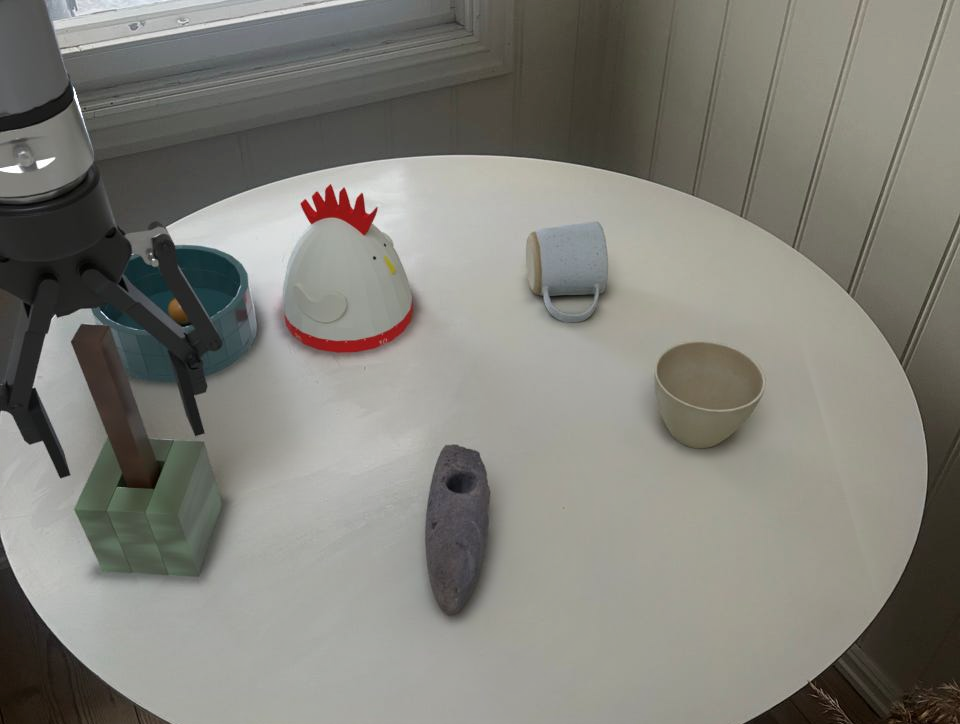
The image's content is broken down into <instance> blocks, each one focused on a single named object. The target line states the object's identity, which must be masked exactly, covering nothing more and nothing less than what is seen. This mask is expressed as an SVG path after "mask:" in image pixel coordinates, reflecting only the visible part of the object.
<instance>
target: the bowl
mask: <svg viewBox="0 0 960 724" xmlns="http://www.w3.org/2000/svg"><path fill="white" fill-rule="evenodd" d="M174 245H175V249H176V256H177V263H178V266H179V267H180V269H181V271H182V272H183V274H184V276H185V277H186V279H187V281H188V282H189V284H190V285H191V287H192V289H193V290H194V292H195V294H196V295H197V297H198V299H199V300H200V302H201V304H202V305H203V307H204V309H205V310H206V312H207V314H208V315H209V317H210V319H211V320H212V322H213V324H214V326H215V328H216V330H217V332H218V334H219V336H220V338H221V340H222V342H223V345H222V347H221V348H220V349H219V350H217V351H210V350H209V351H208V352H206V353H205V354H204V355H203V356H202V358H201V359H202V361H203V366H202V368H203V372H204V376H205V377H207V376H210V375H213V374H216V373H217V372H220V371H222V370H224V369H226V368H227V367H229V366H231V365H232V364H234V363H235V362H237V361H238V360H240V359H241V358H242V357H243V356H244V355H245V354H246V353H247V352H248V351H249V349H250V348H251V347H252V345H253V343H254V342H255V339H256V336H257V332H258V322H257V317H256V310H255V305H254V299H253V294H252V290H251V289H252V288H251V285H250V280H249V274H248V272H247V271H246V269H245V266H244V265H243V263H242V262H240V261H239V259H236V258H235V257H234V256H233V255H231V254H230V253H227V252H225V251H223V250H220V249H217V248H215V247H210V246H205V245H199V244H174ZM123 274H124V275H125V276H126V277H127V279H128V280H129V281H130V283H131V284H132V285H133V286H135V287H136V288H137V289H138V290H139V291H140V292H141V293H143V294H144V295H145V296H146V297H147V298H148V299H149V300H151V301H152V302H153V303H154V304H155V305H156V306H157V307H159V308H160V309H161V310H162V311H163V312H164V313H165V314H167V315H168V316H169V313H168V306H169V304H170V302H171V301H172V299H174V298H175V297H174V295H173V294H172V292H171V290H170V289H169V287H168V286H167V284H166V283H165V281H164V279H163V277H162V275H161V273H160V271H159V269H158V266H157V267H153V266H152V265H148V264H146V263H145V262H144V260H143V258H142V257H141V256H140V255H138V254H132V256H131V258H130V260H129V262H128V265H127V267H126V269H125V271H124V273H123ZM90 310H91V313H92V317H93V319H94V321H95V325H109V326H110V329H111V331H112V334H113V337H114V340H115V343H116V346H117V349H118V352H119V354H120V357H121V360H122V363H123V366H124V369H125V372H126V375H127V376H131V377H132V378H136V379H139V380H143V381H148V382H154V383H155V382H157V383H177V382H176V379H175V375H174V372H173V368H172V365H171V362H170V358H169V355H168V350H169V349H167V348H166V347H165V346H164V345H163V344H161V343H160V342H159V341H158V340H157V339H155V338H154V337H153V336H152V335H151V334H149V333H148V332H147V331H146V330H145V329H144V328H142V327H141V326H140V325H139V324H138V323H136V322H135V321H134V320H133V319H132V318H130V317H129V316H128V315H127V314H125V313H124V314H123V313H121V312H120V311H119V310H117V309H116V308H115V307H114V306H113V305H111V304H110V303H109V302H108V301H106V302H105V306H101V307H97V308H91V309H90ZM169 317H170V316H169ZM170 318H171V317H170ZM177 324H178V323H177ZM179 325H180V326H182V327H183V329H184V330H185V331H186V332H187V333H190V332H191V331H193V330H195V328H194V327H193V325H192V324H191V323H190V324H187V325H181V324H179Z"/></svg>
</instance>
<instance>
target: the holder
mask: <svg viewBox="0 0 960 724" xmlns="http://www.w3.org/2000/svg"><path fill="white" fill-rule="evenodd" d="M149 441H150V444H151V447H152V449H153V452H154V455H155V458H156V461H157V464H158V467H159V470H160V472H161V474H160V477H159V479H158V482H157V484H156V487H155V489H145V488H128V487H127V484H126V482H125V479H124V476H123V474H122V471H121V469H120V466H119V464H118V461H117V459H116V456H115V454H114V451H113V448H112V446H111V443H110V441H109V438H108V436H107V437H106V439H105V442H104V443H103V446H102V448H101V450H100V452H99V453H98V457H97V459H96V461H95V463H94V466H93V468H92V470H91V471H90V474H89V476H88V478H87V480H86V483H85V485H84V487H83V489H82V491H81V493H80V494H79V498H78V499H77V502H76V504H75V506H74V508H73V510H74V512H75V515H76V517H77V519H78V521H79V523H80V526H81V528H82V530H83V532H84V534H85V536H86V538H87V541H88V543H89V545H90V547H91V549H92V552H93V554H94V555H95V558H96V560H97V562H98V564H99V566H100V568H101V571H102V572H103V573H114V574H115V573H116V574H117V573H118V574H119V573H120V574H135V575H151V576H152V575H154V576H155V575H156V576H171V577H173V576H175V577H193V578H199V577H200V574H201V571H202V569H203V565H204V562H205V559H206V557H207V556H206V555H207V553H208V550H209V547H210V543H211V540H212V538H213V535H214V531H215V528H216V525H217V522H218V518H219V515H220V513H221V509H222V506H223V504H222V499H221V496H220V493H219V489H218V486H217V482H216V478H215V475H214V471H213V468H212V464H211V461H210V457H209V454H208V451H207V446H206V443H205V441H204V440H192V439H191V440H190V439H189V440H188V439H169V438H168V439H167V438H149Z"/></svg>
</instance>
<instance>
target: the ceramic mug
mask: <svg viewBox="0 0 960 724" xmlns="http://www.w3.org/2000/svg"><path fill="white" fill-rule="evenodd" d="M525 244H526V245H525V263H526V264H525V265H526V272H527V279H528V284H529V288H530V290H531V291H532V293H534V294H535V295H537V296H543V302H544V305H545V307H546V309H547V311H548V313H549V314H550V315H551V316H552V317H553V318H555V319H556V320H558V321H560V322H564V323H580V322H583V321H586V320H587V319H588V318H590V317H591V316H592V314H593V313H594V312H595V310H596V308H597V305H598V302H599V297H600V294H603V293H604V292H605V290H606V289H607V288H606V287H607V283H608V277H609V276H608V275H609V260H608V259H609V258H608V247H607V239H606V235H605V232H604V228H603V226H602V225H601V223H600V222H599V221H589V222H582V223H575V224H568V225H561V226H552V227H546V228H541V229H538V230H535V231H532V232H530V233H529V234H528V235H527V238H526V243H525ZM579 295H580V296H583V295H593V301H592V303H591V304H590V306H588V307H587V308H586V310H584V311H583V312H581V313H575V314H574V313H567V312H565V311H562V310H560V309H558V308H556V307H555V306H554V304H553V302H552V301H551V298H550V297H553V296H579Z"/></svg>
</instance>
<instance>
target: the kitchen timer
mask: <svg viewBox="0 0 960 724" xmlns="http://www.w3.org/2000/svg"><path fill="white" fill-rule="evenodd" d="M311 199H312V202H313V205H314V208H315V209H314V208H313V207H312V206H311V204H310V203H309V201H308V200H307V199H306V198H303V200H302V201H301V202H300V207H301V209H302V212H303V213H304V215H305V218H306V219H307V220H308V222H309V225H308V226H307V227H306V228H305V229H304V231H302V233H301V234H300V235H299V237H298V239H297V240H296V242H295V244H294V246H293V247H292V251H291V254H290V256H289V259H288V262H287V265H286V270H285V275H284V280H283V285H282V296H281V297H282V309H283V316H284V321H285V326H286V327H287V329H288V331H289V332H290V333H291V336H293V337H294V338H295V339H297V340H298V341H299V342H300V343H302V344H304V345H306V346H308V347H311V348H314V349H316V350H319V351H322V352H324V351H325V352H329V353H336V354H341V353H343V354H344V353H359V352H365V351H369V350H374V349H377V348H379V347H381V346H383V345H386V344H389V343H390V342H393V341H394V340H395V339H396V338H398V337H399V336H400V335H402V334H403V333H404V331H406V329H407V327H408V326H409V325H410V323H411V322H412V317H413V312H414V306H413V305H414V304H413V295H412V290H411V287H410V283H409V280H408V276H407V274H406V270H405V269H404V266H403V263H402V261H401V259H400V257H399V255H398V252H397V250H396V248H395V247H394V241H393V240H392V238H391V237H390V236H389V235H388V234H387V233H386V232H384V231H381V230H380V229H379V228H378V227H377V225H375V224H374V223H373V222H374V220H375V218H376V216H377V213H378V208H379V207H378V206H376V207H375V208H374V209H373V210H372V211H371V212H370V213H368V212H367V211H366V204H365V197H364V192H360V194H359V195H358V196H357V197H356V199H355V201H354V207H353V208H352V206H351V201H350V199H349V195H348V192H347V189H346V187H345V186H344V187H342V188H341V190H340V191H339V193H338V200H337V197H336V193H335V191H334V188H333V185H332V184H331V183H330V184H328V185H327V187H325V189H324V198H323V197H322V195H321V194H320V192H319V191H318V190H316V191H315V192H314V193H313V194H312V195H311Z"/></svg>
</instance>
